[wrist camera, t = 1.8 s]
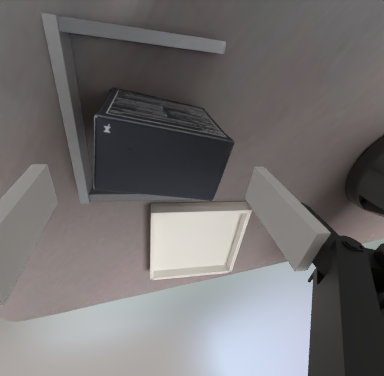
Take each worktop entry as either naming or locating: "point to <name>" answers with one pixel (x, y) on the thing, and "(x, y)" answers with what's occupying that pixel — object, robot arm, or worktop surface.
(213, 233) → the tray
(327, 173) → the worktop surface
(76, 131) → the bay
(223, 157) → the small box
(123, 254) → the worktop surface
